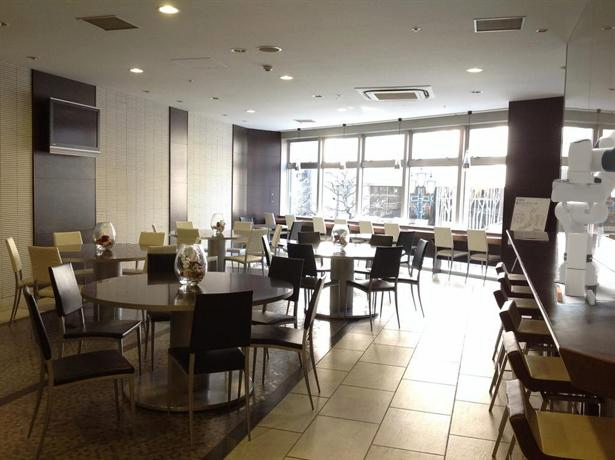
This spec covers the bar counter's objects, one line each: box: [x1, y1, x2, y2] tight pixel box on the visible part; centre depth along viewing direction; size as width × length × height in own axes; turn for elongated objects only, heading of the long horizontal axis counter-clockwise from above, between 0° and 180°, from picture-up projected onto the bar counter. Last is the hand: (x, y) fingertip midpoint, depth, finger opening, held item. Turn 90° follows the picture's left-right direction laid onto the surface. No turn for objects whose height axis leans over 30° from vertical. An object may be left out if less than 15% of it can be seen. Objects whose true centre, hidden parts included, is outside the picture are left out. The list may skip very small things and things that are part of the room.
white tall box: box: [564, 233, 588, 297], centre depth 217 cm, size 7×7×25 cm
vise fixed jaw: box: [586, 289, 596, 306], centre depth 204 cm, size 14×1×4 cm, turn 157°
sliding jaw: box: [554, 284, 563, 302], centre depth 212 cm, size 21×1×3 cm, turn 157°
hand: (577, 213), depth 217 cm, fingers open, 7 cm apart
